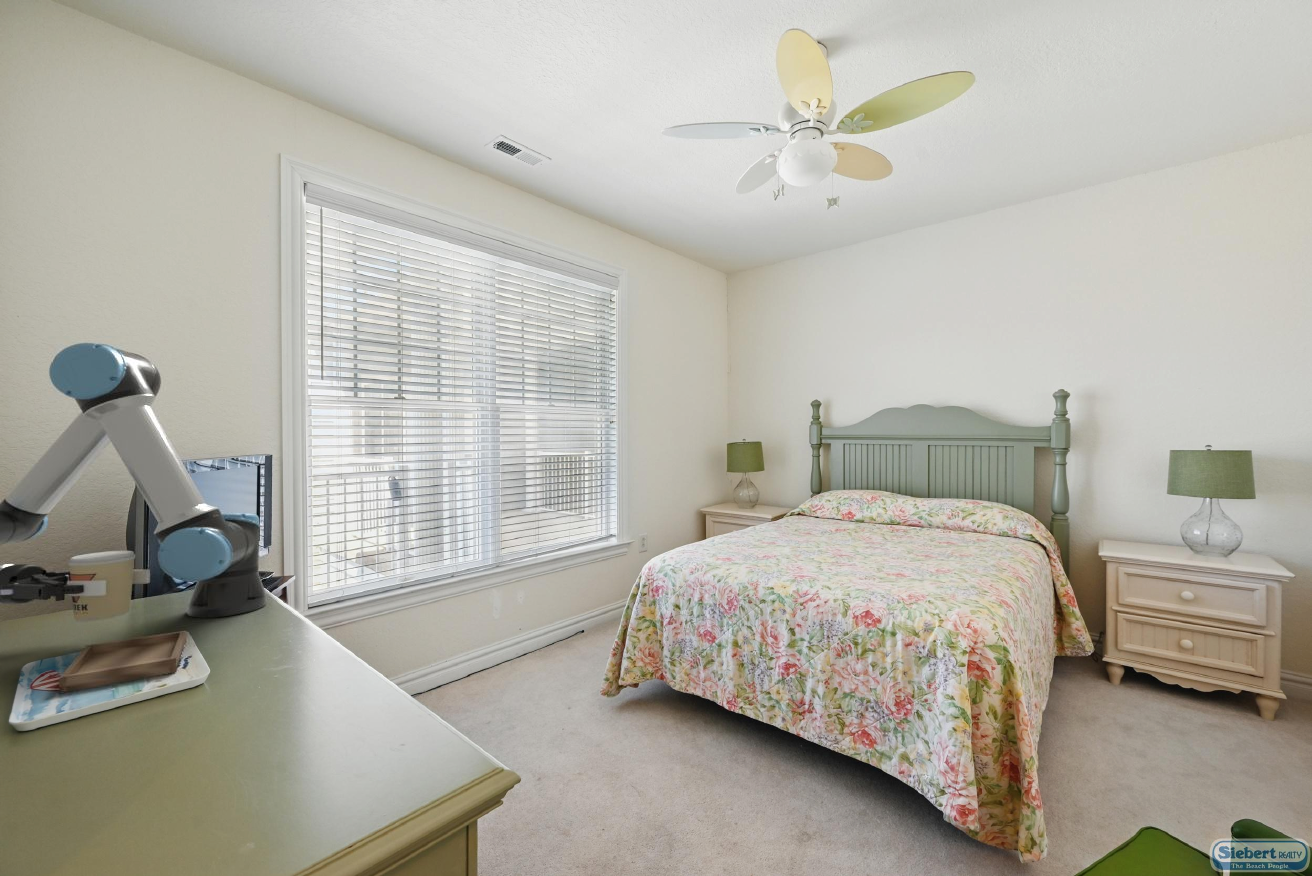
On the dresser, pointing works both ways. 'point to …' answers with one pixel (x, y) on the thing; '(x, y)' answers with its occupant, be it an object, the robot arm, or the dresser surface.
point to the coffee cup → (118, 584)
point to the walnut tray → (123, 661)
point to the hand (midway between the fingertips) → (126, 581)
